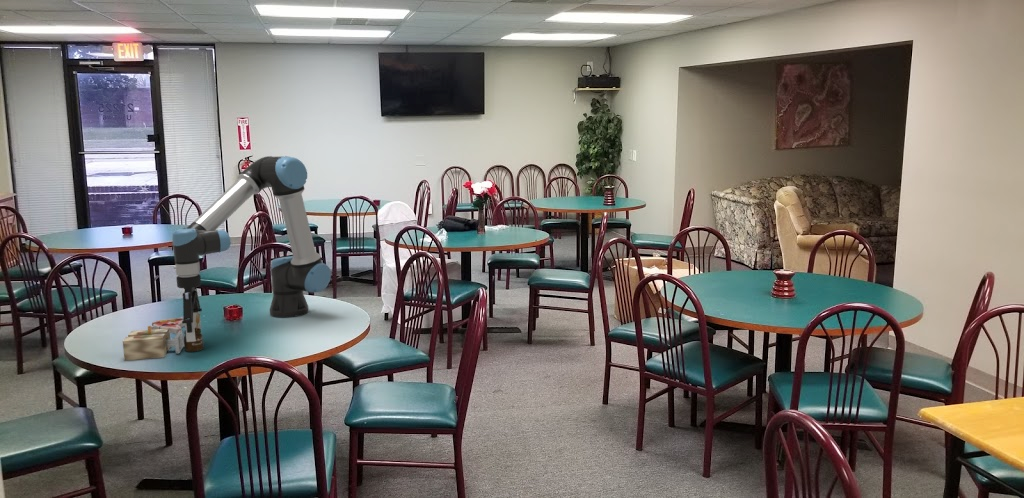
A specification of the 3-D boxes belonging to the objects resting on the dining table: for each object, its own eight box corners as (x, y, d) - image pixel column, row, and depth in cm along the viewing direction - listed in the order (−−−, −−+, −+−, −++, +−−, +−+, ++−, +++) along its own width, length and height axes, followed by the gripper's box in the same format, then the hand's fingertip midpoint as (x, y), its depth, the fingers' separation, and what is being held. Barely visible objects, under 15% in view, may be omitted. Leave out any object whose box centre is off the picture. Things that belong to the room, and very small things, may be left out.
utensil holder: (180, 351, 263) (177, 316, 261) (195, 346, 268) (192, 312, 266) (193, 352, 260) (190, 318, 258) (208, 347, 266) (205, 314, 264)
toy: (186, 313, 303) (199, 324, 286) (187, 321, 303) (200, 333, 287) (145, 319, 294) (156, 331, 278) (146, 327, 295) (157, 340, 279)
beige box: (170, 346, 268) (169, 327, 267) (163, 357, 256) (162, 337, 255) (133, 349, 265) (131, 330, 264) (124, 360, 253) (122, 340, 252)
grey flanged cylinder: (184, 345, 267) (181, 320, 266) (179, 353, 259) (177, 327, 257) (139, 349, 264) (137, 324, 263) (133, 356, 255) (131, 330, 254)
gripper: (182, 268, 271) (188, 327, 275) (169, 283, 247) (176, 347, 251) (205, 267, 273) (210, 325, 276) (194, 281, 249) (200, 345, 253)
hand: (194, 336), depth 264 cm, fingers open, 13 cm apart
